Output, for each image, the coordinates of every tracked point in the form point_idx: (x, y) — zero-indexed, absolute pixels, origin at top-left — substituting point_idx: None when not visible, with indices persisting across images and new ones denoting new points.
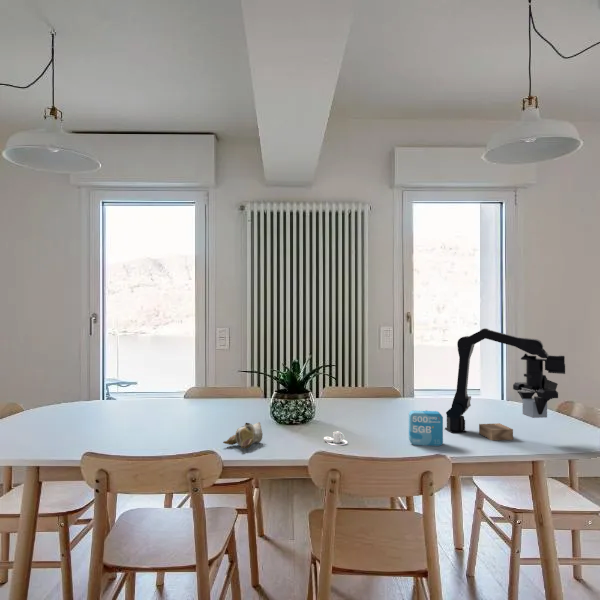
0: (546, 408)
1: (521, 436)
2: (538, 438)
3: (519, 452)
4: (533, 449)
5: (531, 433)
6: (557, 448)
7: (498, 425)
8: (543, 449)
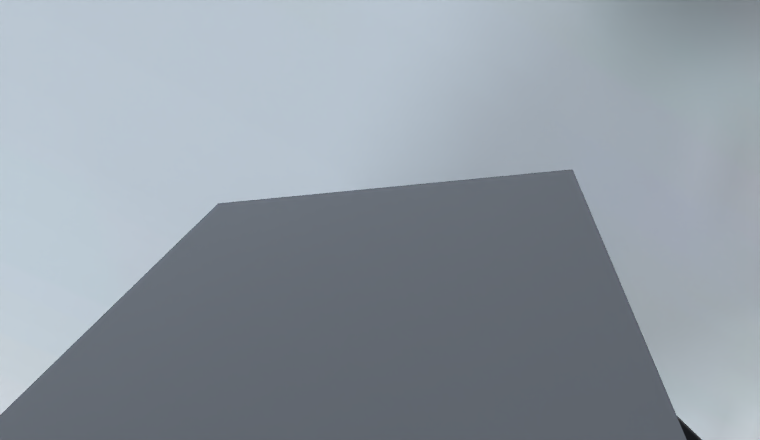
0: (629, 322)
1: (244, 177)
2: (296, 31)
3: (727, 431)
4: (675, 290)
5: (101, 5)
6: (700, 19)
7: None
8: (698, 200)
